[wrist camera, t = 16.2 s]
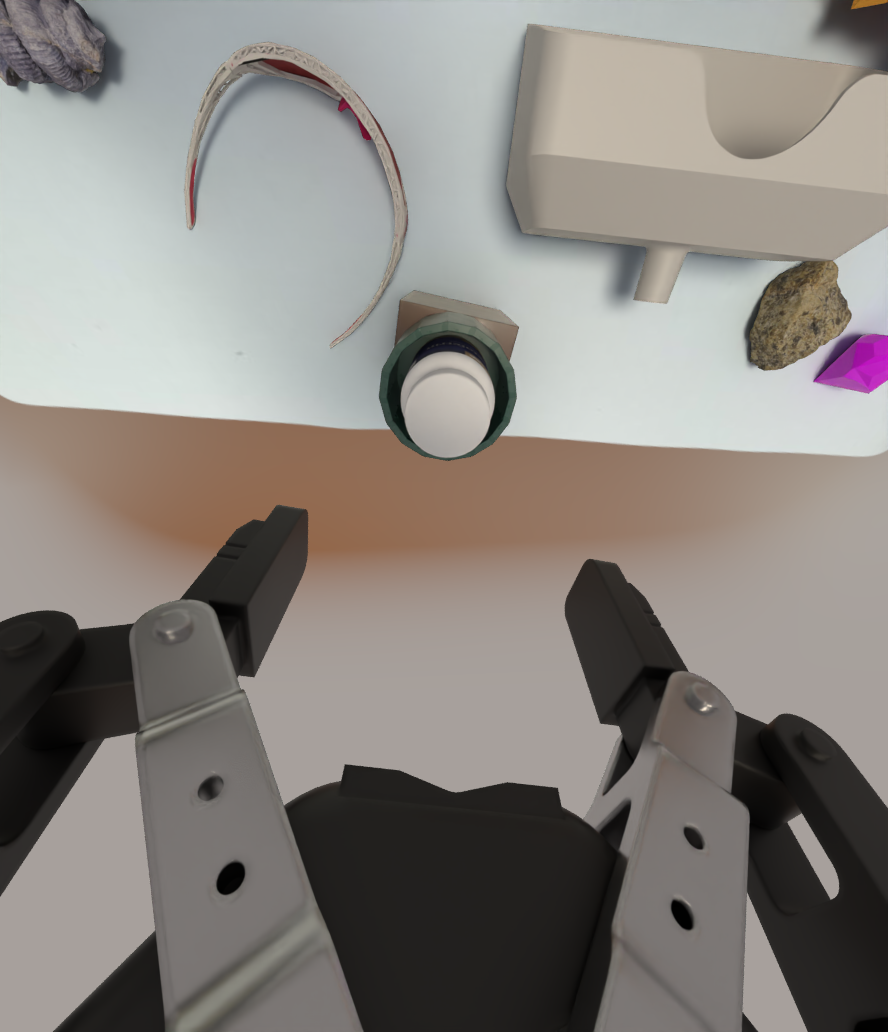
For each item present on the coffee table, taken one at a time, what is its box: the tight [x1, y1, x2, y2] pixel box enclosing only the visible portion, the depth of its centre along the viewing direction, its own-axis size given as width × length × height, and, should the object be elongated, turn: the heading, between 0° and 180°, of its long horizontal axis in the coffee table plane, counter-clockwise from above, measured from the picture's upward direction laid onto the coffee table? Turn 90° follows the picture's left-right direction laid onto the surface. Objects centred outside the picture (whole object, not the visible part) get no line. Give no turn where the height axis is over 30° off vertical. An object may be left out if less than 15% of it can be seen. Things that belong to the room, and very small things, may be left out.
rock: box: [749, 261, 852, 370], centre depth 36 cm, size 7×8×4 cm
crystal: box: [813, 334, 888, 394], centre depth 38 cm, size 5×5×5 cm
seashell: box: [0, 0, 106, 93], centre depth 27 cm, size 5×5×10 cm
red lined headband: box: [184, 42, 408, 348], centre depth 33 cm, size 17×17×5 cm
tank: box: [506, 24, 888, 304], centre depth 27 cm, size 25×16×12 cm, turn 85°
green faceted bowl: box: [379, 312, 517, 461], centre depth 27 cm, size 9×9×6 cm
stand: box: [394, 290, 519, 361], centre depth 35 cm, size 9×9×12 cm
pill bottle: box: [401, 335, 495, 458], centre depth 25 cm, size 6×6×10 cm
